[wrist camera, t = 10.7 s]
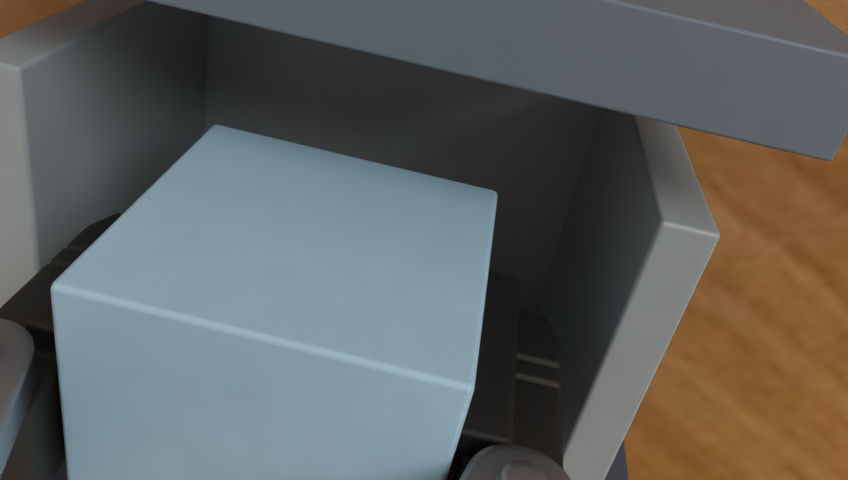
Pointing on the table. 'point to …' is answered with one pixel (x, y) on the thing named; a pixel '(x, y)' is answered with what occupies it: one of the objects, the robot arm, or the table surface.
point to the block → (275, 320)
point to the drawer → (442, 136)
